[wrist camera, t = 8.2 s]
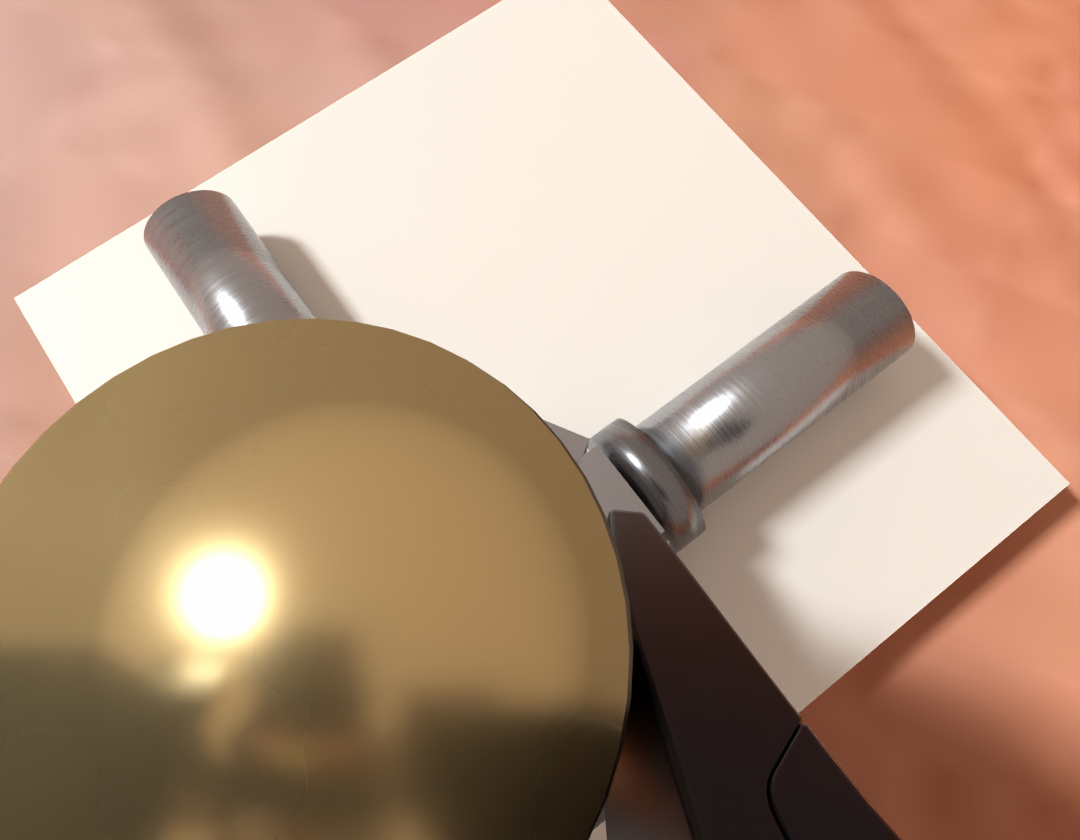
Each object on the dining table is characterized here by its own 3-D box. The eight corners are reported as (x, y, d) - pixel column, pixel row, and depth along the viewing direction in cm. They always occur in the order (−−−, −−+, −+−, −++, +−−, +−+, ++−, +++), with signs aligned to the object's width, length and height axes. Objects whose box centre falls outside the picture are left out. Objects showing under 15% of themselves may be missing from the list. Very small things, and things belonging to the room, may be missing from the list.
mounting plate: (1042, 490, 18) (1069, 483, 17) (445, 993, 16) (437, 1018, 15) (568, -13, 23) (569, -41, 22) (39, 313, 20) (13, 298, 19)
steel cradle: (964, 468, 18) (1075, 429, 14) (423, 910, 15) (381, 1006, 12) (569, 38, 21) (572, -85, 18) (81, 345, 19) (-36, 279, 15)
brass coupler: (629, 655, 15) (787, 727, 5) (421, 821, 14) (121, 1294, 4) (484, 458, 16) (382, 200, 6) (285, 601, 15) (-200, 568, 5)
